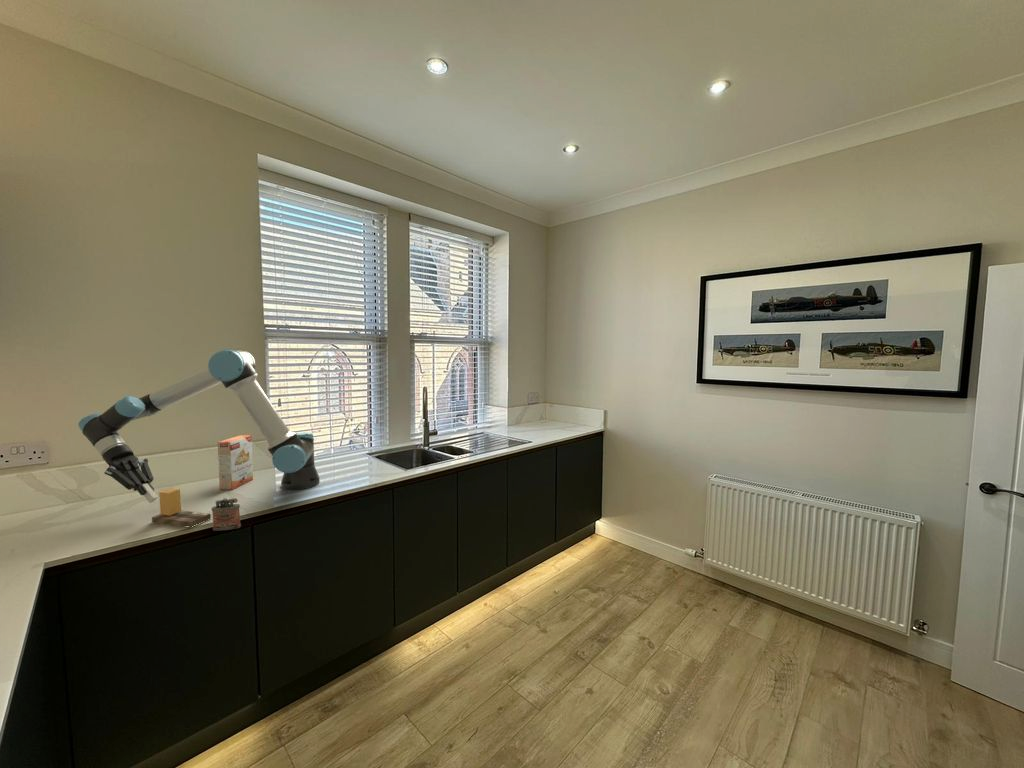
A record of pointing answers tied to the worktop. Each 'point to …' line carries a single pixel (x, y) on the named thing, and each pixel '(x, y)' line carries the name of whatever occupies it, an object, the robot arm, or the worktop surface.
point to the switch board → (182, 518)
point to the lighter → (226, 515)
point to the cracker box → (235, 461)
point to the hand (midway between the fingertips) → (153, 499)
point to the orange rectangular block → (170, 501)
